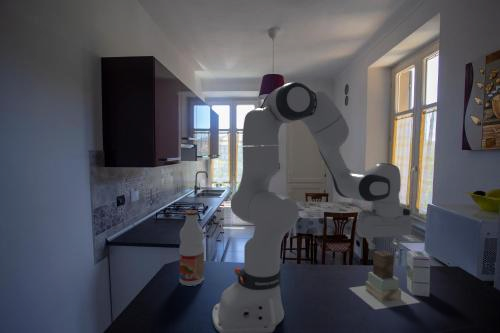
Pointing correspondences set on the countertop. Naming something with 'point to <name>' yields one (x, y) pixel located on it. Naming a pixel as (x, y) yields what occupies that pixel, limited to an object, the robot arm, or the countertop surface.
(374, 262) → the walnut block
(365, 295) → the mat
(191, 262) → the fruit juice
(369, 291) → the tower base
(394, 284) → the tower top
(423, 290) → the syrup box
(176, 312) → the countertop surface
